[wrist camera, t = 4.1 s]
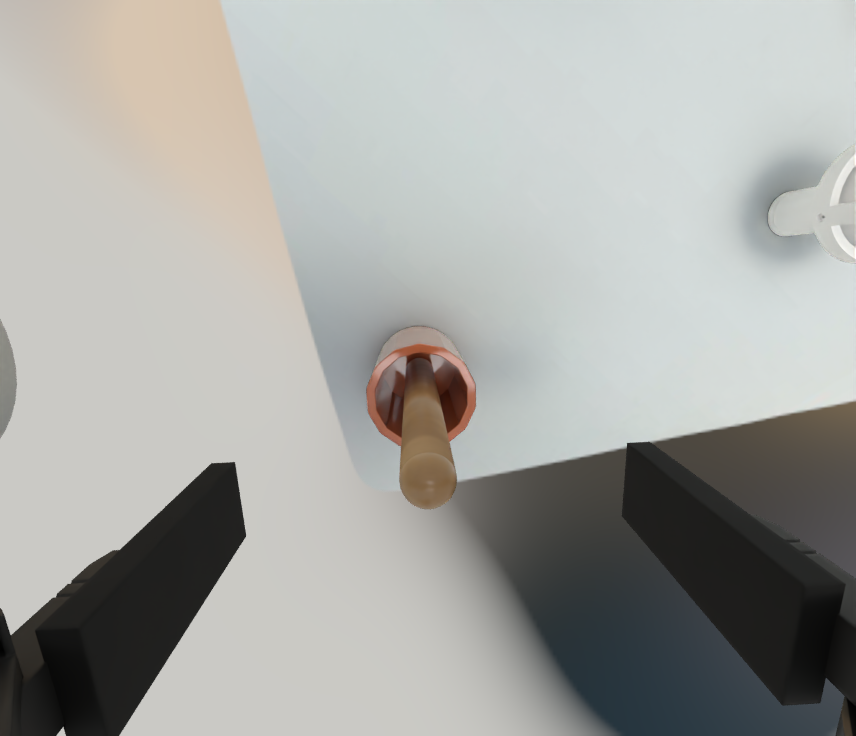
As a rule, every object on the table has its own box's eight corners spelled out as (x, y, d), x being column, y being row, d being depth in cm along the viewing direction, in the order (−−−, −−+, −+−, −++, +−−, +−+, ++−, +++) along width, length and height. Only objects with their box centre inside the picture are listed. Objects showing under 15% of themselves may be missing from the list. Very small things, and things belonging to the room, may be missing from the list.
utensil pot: (380, 409, 32) (370, 452, 25) (375, 327, 31) (362, 345, 23) (460, 405, 33) (476, 447, 25) (459, 323, 31) (475, 341, 23)
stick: (406, 382, 31) (400, 522, 14) (405, 356, 31) (397, 467, 13) (433, 380, 31) (460, 519, 14) (432, 354, 31) (459, 463, 14)
